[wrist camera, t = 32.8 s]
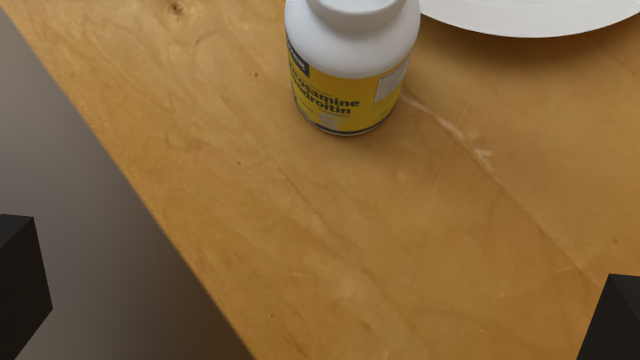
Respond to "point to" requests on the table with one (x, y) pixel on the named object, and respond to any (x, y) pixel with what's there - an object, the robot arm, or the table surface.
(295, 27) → the pill bottle
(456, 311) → the table surface
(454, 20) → the white plate
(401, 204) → the table surface
